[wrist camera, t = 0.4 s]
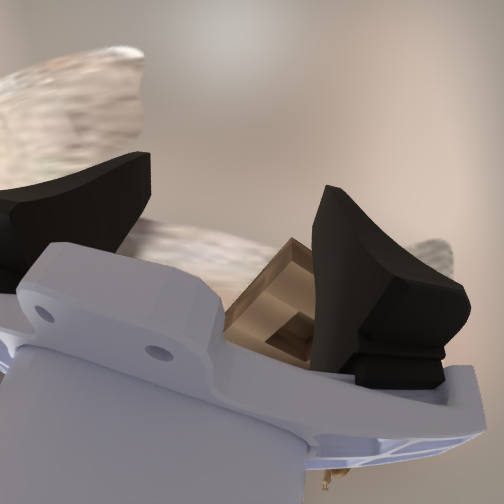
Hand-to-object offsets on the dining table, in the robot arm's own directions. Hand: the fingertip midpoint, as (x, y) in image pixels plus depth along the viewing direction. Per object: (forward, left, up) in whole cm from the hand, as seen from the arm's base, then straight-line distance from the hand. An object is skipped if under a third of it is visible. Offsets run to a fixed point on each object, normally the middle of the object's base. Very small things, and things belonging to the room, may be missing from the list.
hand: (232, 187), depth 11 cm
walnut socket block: (-11, -13, -10) cm, 20 cm away
